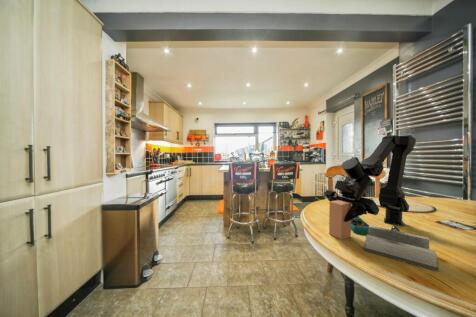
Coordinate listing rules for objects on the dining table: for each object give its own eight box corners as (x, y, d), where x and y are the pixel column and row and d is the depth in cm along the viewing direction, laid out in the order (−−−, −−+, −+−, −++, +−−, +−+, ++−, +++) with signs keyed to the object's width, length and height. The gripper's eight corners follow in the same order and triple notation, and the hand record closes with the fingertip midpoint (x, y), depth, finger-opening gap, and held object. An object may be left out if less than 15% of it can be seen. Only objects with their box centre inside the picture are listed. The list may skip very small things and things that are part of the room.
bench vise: (368, 230, 72) (368, 219, 72) (425, 242, 62) (426, 229, 62) (363, 250, 57) (364, 236, 57) (439, 271, 47) (439, 254, 46)
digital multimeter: (354, 234, 69) (354, 227, 69) (341, 220, 84) (341, 214, 83) (376, 236, 67) (376, 228, 67) (359, 222, 82) (359, 215, 82)
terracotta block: (338, 231, 70) (338, 200, 70) (350, 237, 66) (351, 203, 66) (329, 233, 69) (329, 201, 68) (341, 239, 64) (341, 204, 64)
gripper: (327, 170, 77) (307, 198, 73) (374, 175, 59) (351, 212, 56) (340, 187, 80) (321, 215, 76) (388, 197, 63) (367, 233, 59)
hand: (337, 218), depth 66 cm, fingers open, 6 cm apart
